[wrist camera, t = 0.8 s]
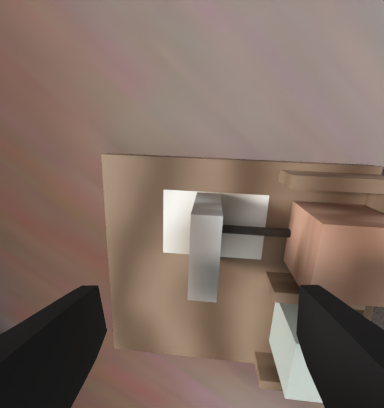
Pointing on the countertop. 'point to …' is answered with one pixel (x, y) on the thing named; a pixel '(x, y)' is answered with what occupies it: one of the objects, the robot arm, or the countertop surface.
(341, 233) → the tethered block
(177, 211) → the lane rack
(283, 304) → the block
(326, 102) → the countertop surface
